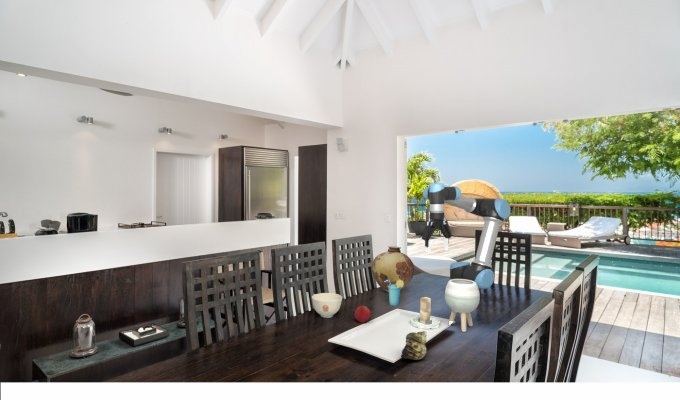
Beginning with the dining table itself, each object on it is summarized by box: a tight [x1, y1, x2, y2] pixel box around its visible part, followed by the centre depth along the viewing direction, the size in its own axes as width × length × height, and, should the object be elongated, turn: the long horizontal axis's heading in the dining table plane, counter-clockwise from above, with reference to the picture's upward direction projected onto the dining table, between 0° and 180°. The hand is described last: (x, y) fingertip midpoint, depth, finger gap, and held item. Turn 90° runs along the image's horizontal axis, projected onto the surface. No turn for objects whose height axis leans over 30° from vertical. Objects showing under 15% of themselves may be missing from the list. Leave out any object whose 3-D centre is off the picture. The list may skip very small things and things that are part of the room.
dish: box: [409, 315, 441, 329], centre depth 193 cm, size 14×14×3 cm
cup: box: [384, 279, 404, 306], centre depth 227 cm, size 14×8×15 cm, turn 124°
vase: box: [371, 245, 415, 293], centre depth 254 cm, size 28×27×30 cm
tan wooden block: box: [419, 296, 432, 324], centre depth 193 cm, size 4×4×12 cm
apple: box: [354, 305, 372, 323], centre depth 195 cm, size 8×8×8 cm
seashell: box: [400, 330, 427, 361], centre depth 153 cm, size 11×11×10 cm
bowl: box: [311, 292, 343, 319], centre depth 204 cm, size 16×16×10 cm
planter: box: [444, 279, 481, 333], centre depth 189 cm, size 16×16×22 cm
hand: (437, 251), depth 209 cm, fingers open, 13 cm apart
